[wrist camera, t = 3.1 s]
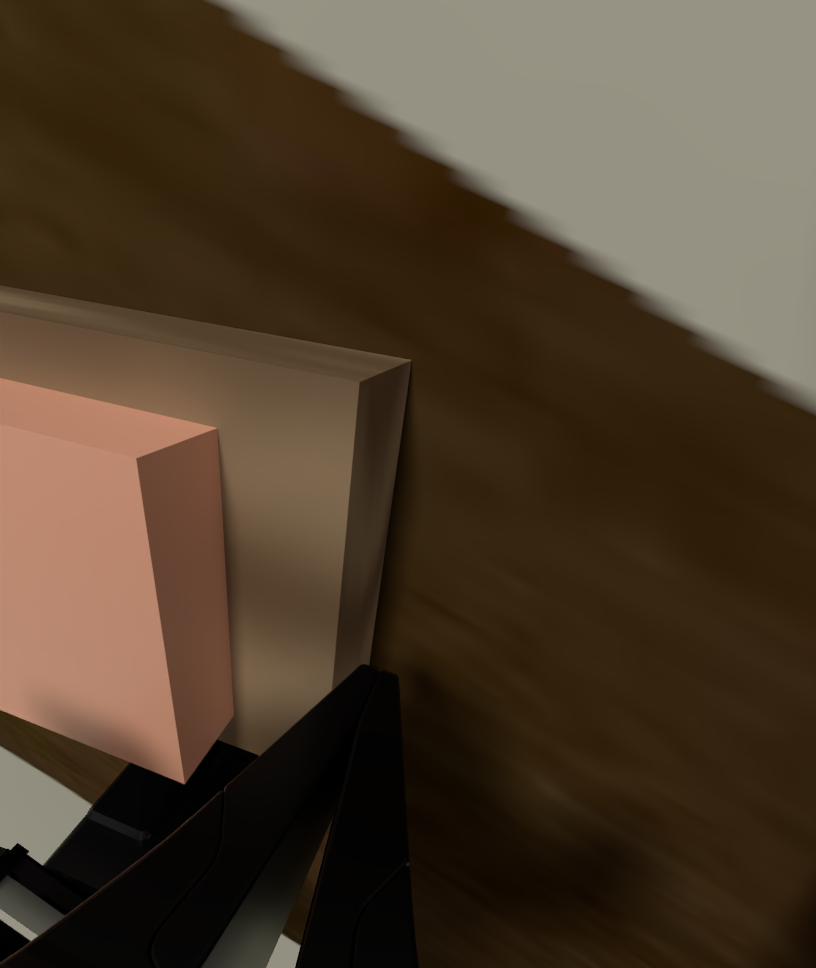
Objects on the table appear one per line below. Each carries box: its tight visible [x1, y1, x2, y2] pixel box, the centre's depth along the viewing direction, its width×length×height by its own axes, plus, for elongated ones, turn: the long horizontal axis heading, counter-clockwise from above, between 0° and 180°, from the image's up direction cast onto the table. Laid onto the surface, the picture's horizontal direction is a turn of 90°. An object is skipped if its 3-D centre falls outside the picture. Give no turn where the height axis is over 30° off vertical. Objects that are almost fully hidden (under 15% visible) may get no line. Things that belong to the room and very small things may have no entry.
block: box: [0, 378, 234, 784], centre depth 10 cm, size 9×6×2 cm, turn 172°
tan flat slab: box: [0, 285, 412, 756], centre depth 13 cm, size 12×18×4 cm, turn 82°
